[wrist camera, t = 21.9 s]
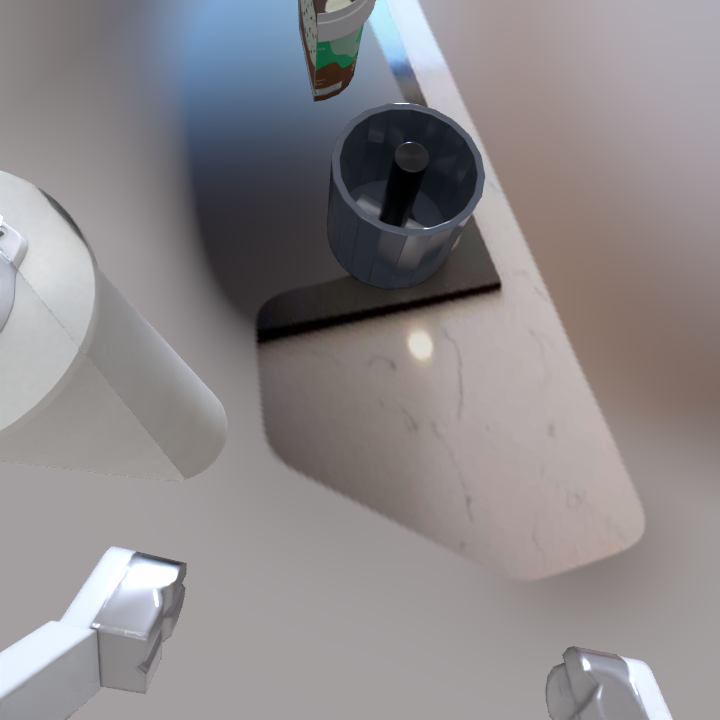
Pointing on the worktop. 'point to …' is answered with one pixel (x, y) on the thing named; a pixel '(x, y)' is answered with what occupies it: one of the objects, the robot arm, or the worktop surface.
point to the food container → (331, 41)
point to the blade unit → (400, 188)
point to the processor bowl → (432, 205)
